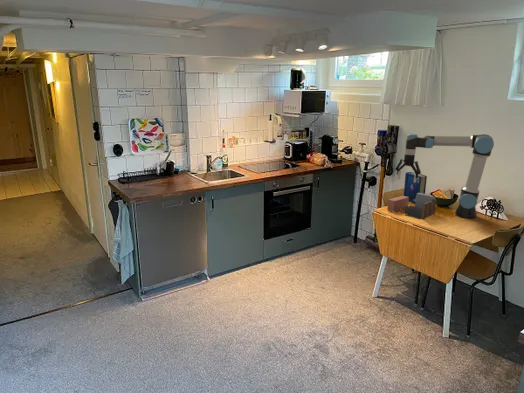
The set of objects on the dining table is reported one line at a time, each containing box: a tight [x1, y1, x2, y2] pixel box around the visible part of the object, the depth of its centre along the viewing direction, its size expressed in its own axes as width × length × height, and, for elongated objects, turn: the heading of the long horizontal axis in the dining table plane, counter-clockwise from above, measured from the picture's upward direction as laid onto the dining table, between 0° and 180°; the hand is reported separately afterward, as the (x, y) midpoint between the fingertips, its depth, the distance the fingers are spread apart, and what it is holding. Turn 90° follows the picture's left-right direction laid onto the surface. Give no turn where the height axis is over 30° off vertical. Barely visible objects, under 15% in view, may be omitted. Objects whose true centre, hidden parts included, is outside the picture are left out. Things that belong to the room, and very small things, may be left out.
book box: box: [386, 195, 410, 212], centre depth 326 cm, size 6×20×9 cm, turn 127°
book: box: [403, 171, 428, 204], centre depth 345 cm, size 22×7×25 cm, turn 17°
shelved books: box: [414, 193, 436, 208], centre depth 316 cm, size 6×12×15 cm, turn 43°
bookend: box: [403, 204, 422, 220], centre depth 308 cm, size 7×16×7 cm, turn 43°
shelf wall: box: [420, 198, 437, 220], centre depth 307 cm, size 20×2×12 cm, turn 133°
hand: (406, 180), depth 313 cm, fingers open, 13 cm apart
